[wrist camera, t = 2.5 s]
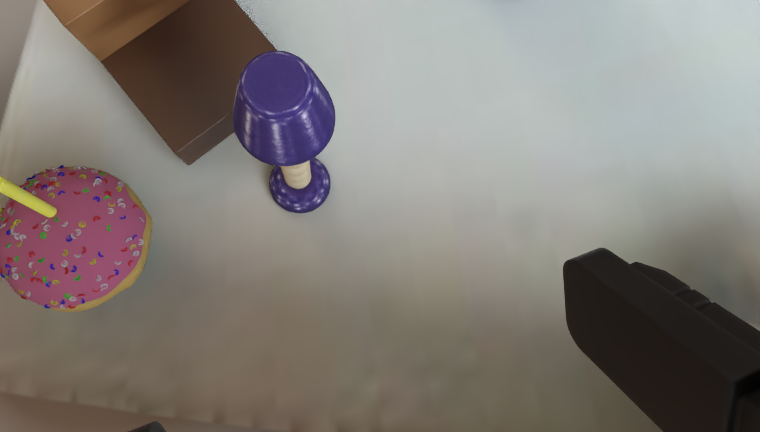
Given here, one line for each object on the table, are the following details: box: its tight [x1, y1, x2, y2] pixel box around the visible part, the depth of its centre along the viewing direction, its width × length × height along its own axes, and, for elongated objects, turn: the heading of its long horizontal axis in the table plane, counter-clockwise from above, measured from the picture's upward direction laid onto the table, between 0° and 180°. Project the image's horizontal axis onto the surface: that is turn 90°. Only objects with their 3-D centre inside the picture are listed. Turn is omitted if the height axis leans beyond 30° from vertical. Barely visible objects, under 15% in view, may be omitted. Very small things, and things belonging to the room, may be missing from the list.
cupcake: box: [0, 165, 152, 312], centre depth 29 cm, size 9×8×12 cm
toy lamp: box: [233, 51, 335, 213], centre depth 28 cm, size 5×5×17 cm
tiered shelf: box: [43, 0, 277, 165], centre depth 34 cm, size 10×12×8 cm
